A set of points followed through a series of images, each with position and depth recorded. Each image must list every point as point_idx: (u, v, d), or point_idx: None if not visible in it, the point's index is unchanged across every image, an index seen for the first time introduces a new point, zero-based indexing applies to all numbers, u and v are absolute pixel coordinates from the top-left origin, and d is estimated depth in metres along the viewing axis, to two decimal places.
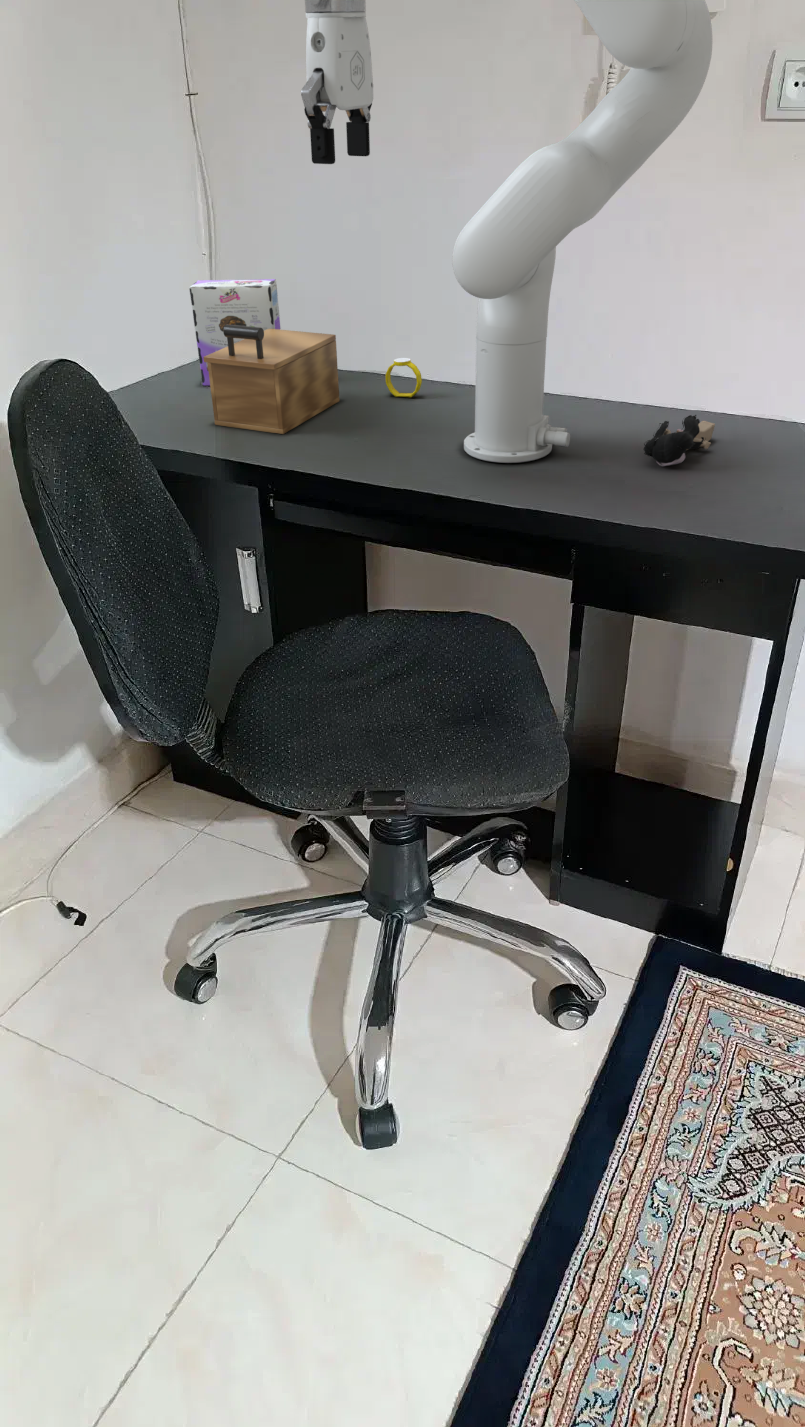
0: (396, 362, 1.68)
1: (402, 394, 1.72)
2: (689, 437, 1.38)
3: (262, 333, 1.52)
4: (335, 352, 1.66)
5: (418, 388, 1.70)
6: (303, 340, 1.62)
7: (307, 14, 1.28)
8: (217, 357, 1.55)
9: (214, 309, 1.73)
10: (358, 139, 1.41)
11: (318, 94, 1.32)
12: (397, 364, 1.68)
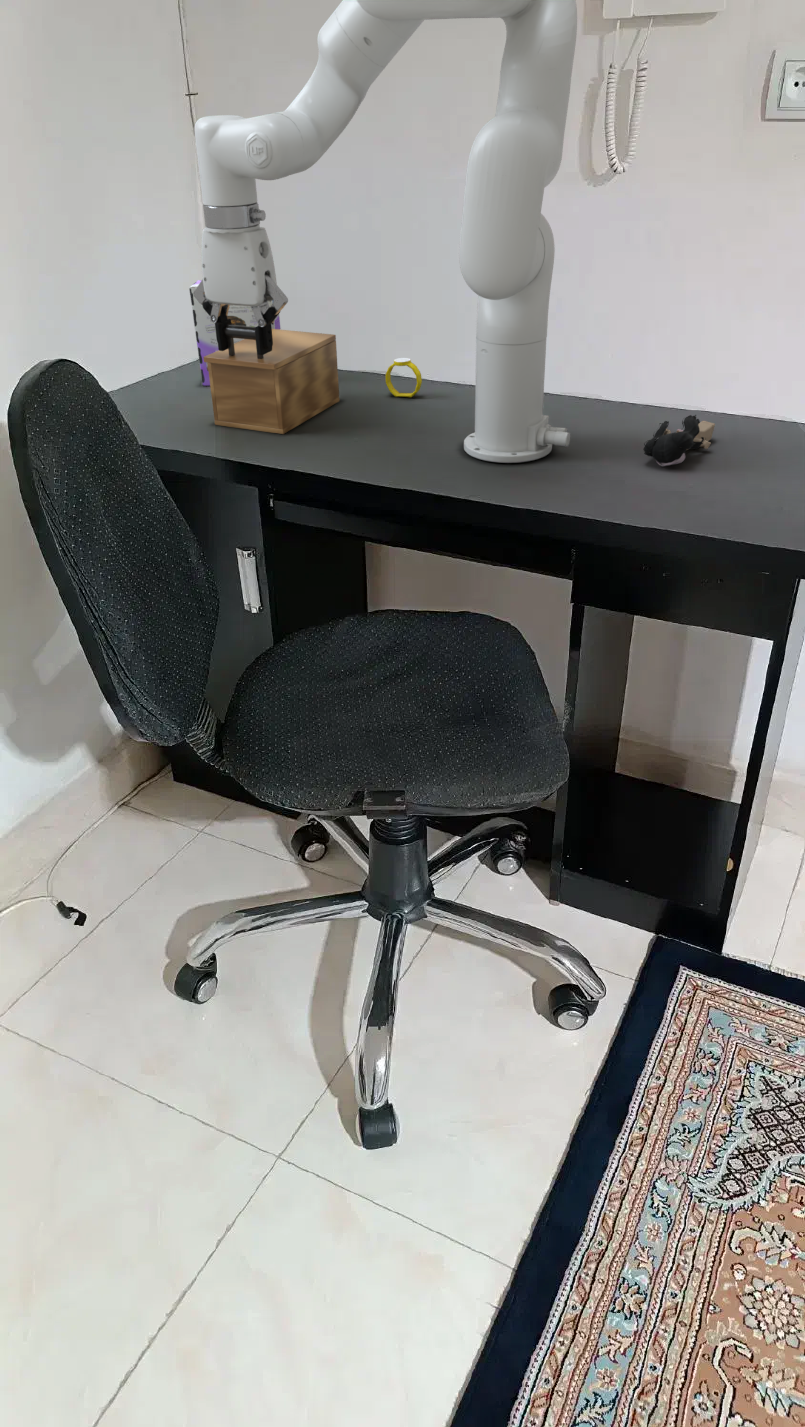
0: (396, 362, 1.68)
1: (402, 394, 1.72)
2: (689, 437, 1.38)
3: None
4: (335, 352, 1.66)
5: (418, 388, 1.70)
6: (303, 340, 1.62)
7: (240, 229, 1.42)
8: (217, 357, 1.55)
9: None
10: None
11: None
12: (397, 364, 1.68)
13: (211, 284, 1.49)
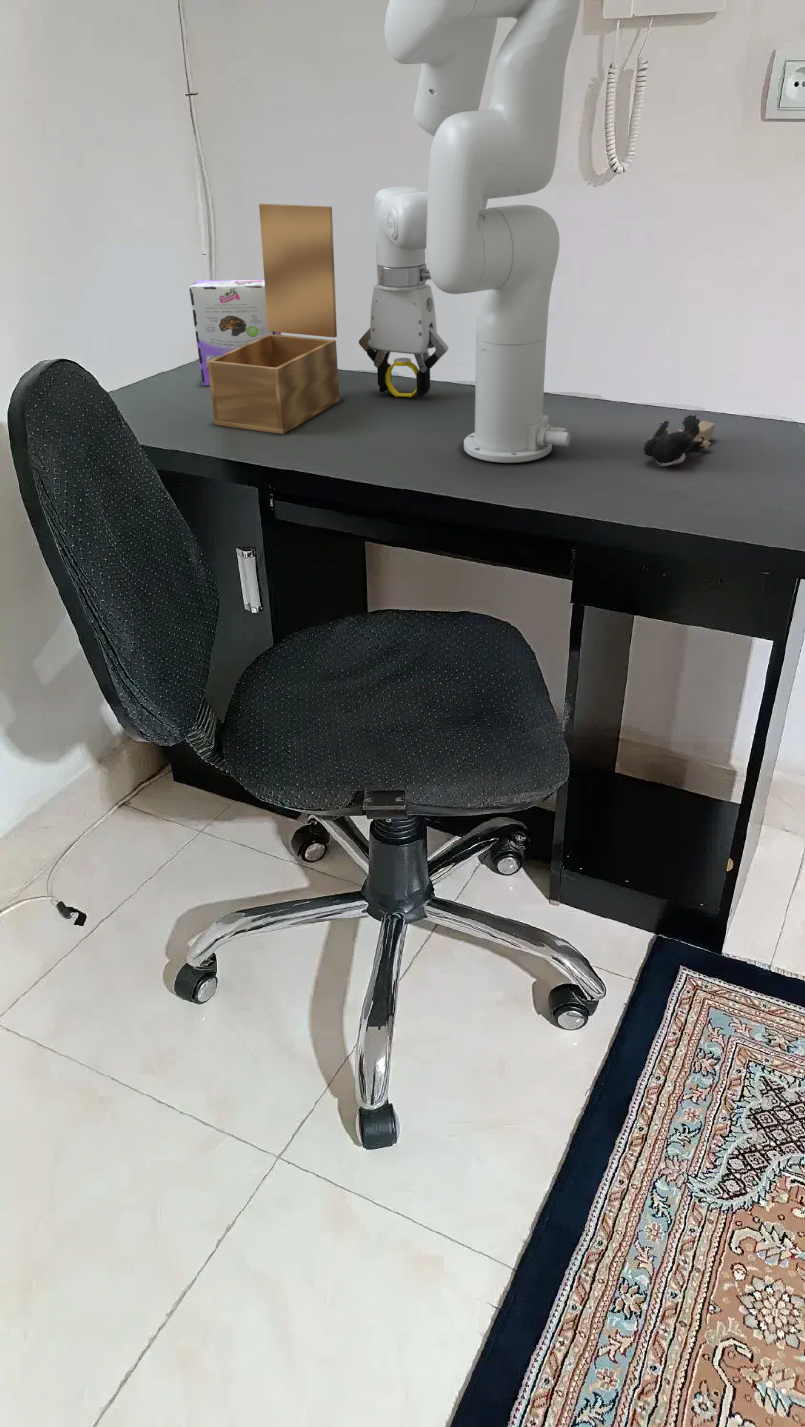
0: (396, 362, 1.68)
1: (402, 394, 1.72)
2: (689, 437, 1.38)
3: None
4: (335, 352, 1.66)
5: None
6: None
7: (411, 287, 1.60)
8: None
9: (214, 309, 1.73)
10: None
11: None
12: (397, 364, 1.68)
13: (379, 334, 1.66)
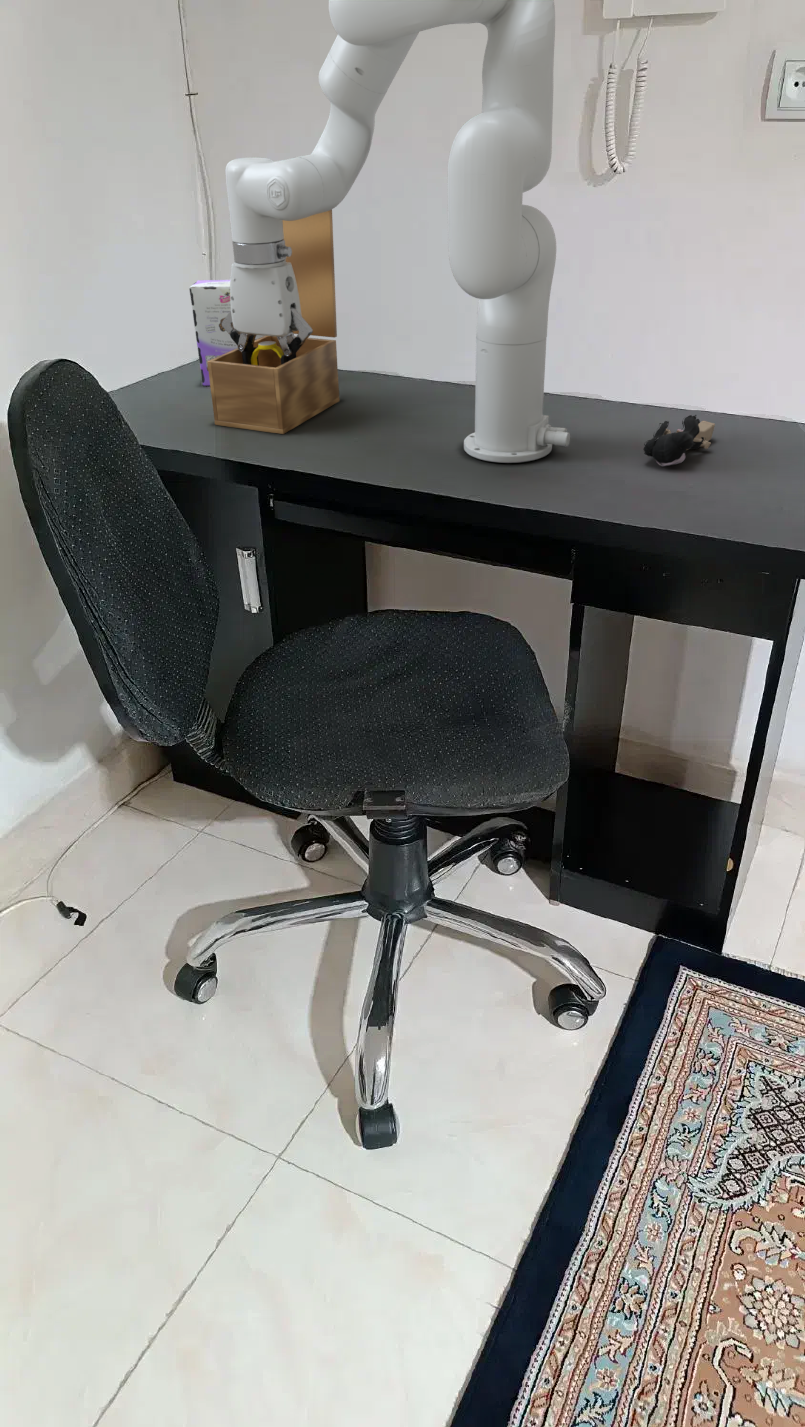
0: (260, 345, 1.59)
1: None
2: (689, 437, 1.38)
3: None
4: (335, 352, 1.66)
5: None
6: None
7: (268, 265, 1.50)
8: None
9: (214, 309, 1.73)
10: None
11: None
12: (261, 347, 1.59)
13: (239, 315, 1.56)
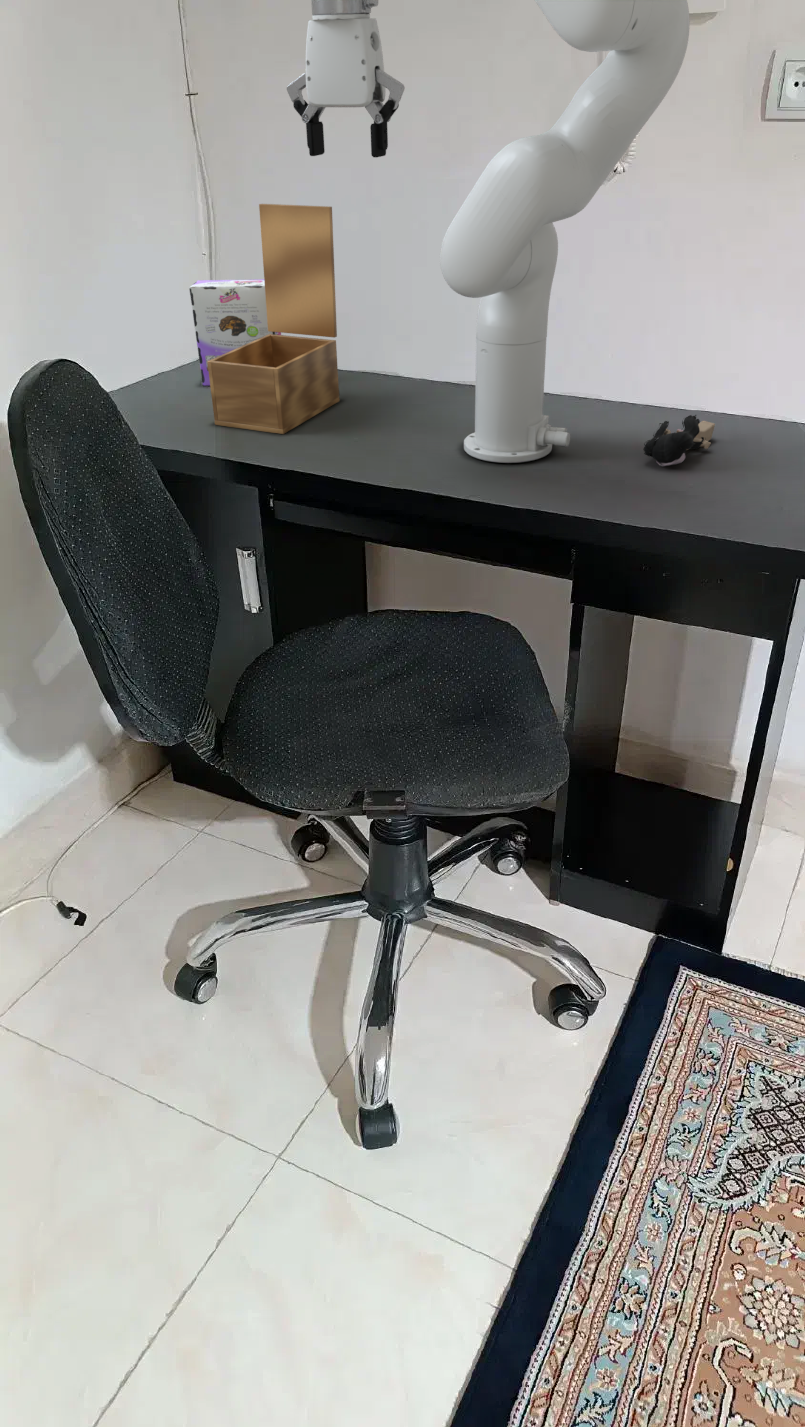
0: None
1: None
2: (689, 437, 1.38)
3: None
4: (335, 352, 1.66)
5: None
6: None
7: (351, 15, 1.32)
8: None
9: (214, 309, 1.73)
10: (319, 138, 1.45)
11: None
12: None
13: (315, 83, 1.39)
